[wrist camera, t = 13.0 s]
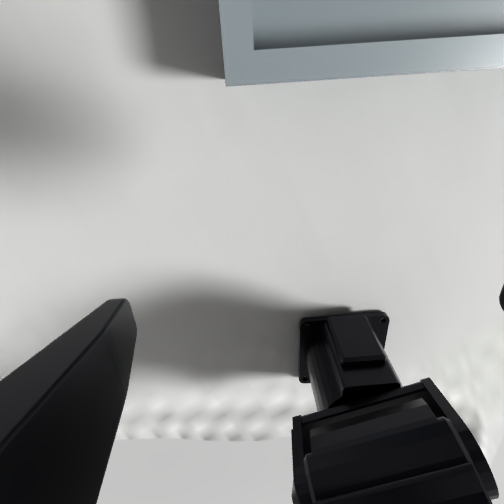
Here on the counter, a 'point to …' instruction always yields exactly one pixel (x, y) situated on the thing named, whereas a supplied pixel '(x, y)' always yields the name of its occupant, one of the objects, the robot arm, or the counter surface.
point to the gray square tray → (357, 38)
